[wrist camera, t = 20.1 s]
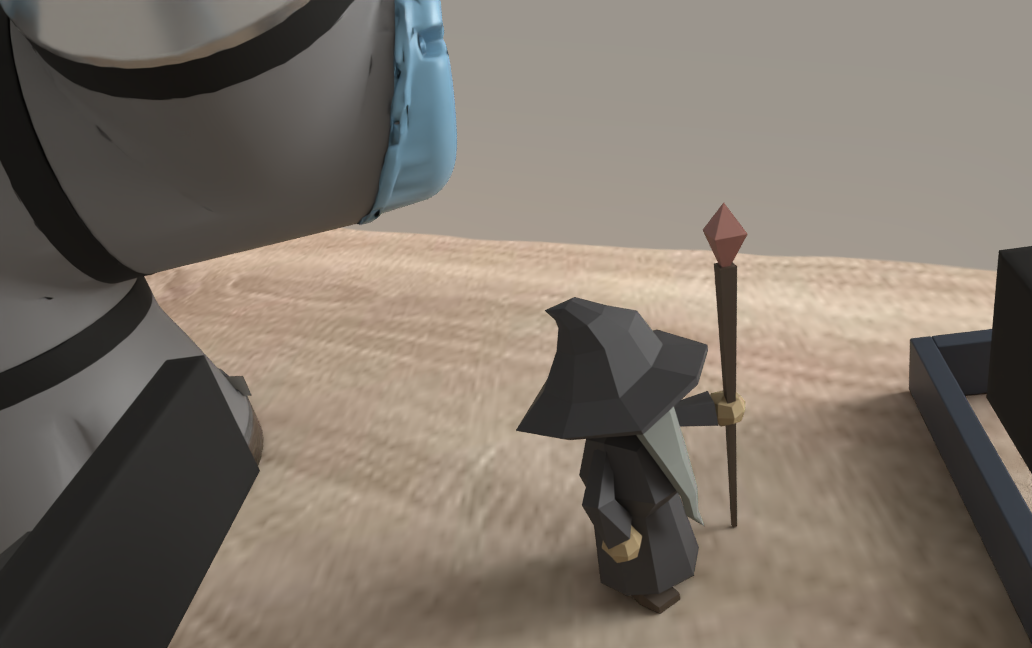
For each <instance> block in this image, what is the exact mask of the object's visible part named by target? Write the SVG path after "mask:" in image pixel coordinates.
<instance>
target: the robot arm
mask: <svg viewBox="0 0 1032 648" xmlns="http://www.w3.org/2000/svg"><path fill="white" fill-rule="evenodd" d="M443 35H444V27H443V23H442V12H441V1H440V0H0V648H167V647H168V645H169V643H170V641H171V640H172V638H173V636H174V634H175V632H176V630H177V628H178V626H179V624H180V622H181V620H182V619H183V617H184V615H185V613H186V611H187V609H188V607H189V605H190V603H191V601H192V599H193V598H194V596H195V594H196V592H197V590H198V588H199V586H200V584H201V582H202V580H203V578H204V577H205V575H206V573H207V571H208V569H209V567H210V565H211V563H212V561H213V559H214V557H215V556H216V554H217V552H218V550H219V548H220V546H221V544H222V542H223V540H224V538H225V536H226V535H227V533H228V531H229V529H230V527H231V525H232V523H233V521H234V519H235V517H236V515H237V514H238V512H239V510H240V508H241V506H242V504H243V502H244V500H245V498H246V496H247V494H248V492H249V491H250V489H251V487H252V485H253V483H254V481H255V479H256V477H257V475H258V473H259V471H260V470H259V467H258V465H259V462H260V459H261V455H262V450H263V433H262V429H261V426H260V423H259V421H258V418H257V416H256V414H255V412H254V410H253V408H252V405H251V403H250V401H249V399H248V397H247V396H252V395H251V393H250V391H249V388H248V386H247V384H246V382H245V380H244V377H243V376H228V375H227V374H226V373H225V372H224V371H222V370H221V369H219V368H217V367H216V366H215V365H214V364H213V362H212V361H211V360H210V359H209V358H208V357H207V356H206V355H205V354H204V353H203V351H202V350H201V349H200V348H199V347H198V346H197V345H196V344H195V343H194V342H193V341H192V340H191V339H190V338H189V336H188V335H187V334H186V333H185V332H184V331H183V330H182V329H181V328H180V327H179V326H178V325H177V324H176V323H175V322H174V321H173V320H172V319H171V318H170V317H169V316H168V315H167V314H166V313H165V312H164V311H163V310H162V309H161V307H160V306H159V305H158V303H157V301H156V299H155V297H154V295H153V293H152V291H151V289H150V287H149V285H148V283H147V281H146V279H145V277H144V276H146V275H152V274H154V273H157V272H160V271H165V270H169V269H173V268H177V267H181V266H185V265H189V264H193V263H197V262H202V261H206V260H210V259H214V258H218V257H222V256H226V255H230V254H234V253H238V252H243V251H247V250H251V249H255V248H259V247H263V246H267V245H271V244H275V243H280V242H284V241H288V240H292V239H296V238H300V237H304V236H308V235H312V234H316V233H321V232H325V231H329V230H333V229H337V228H341V227H345V226H349V225H353V224H359V225H362V224H366V223H370V222H372V221H374V220H375V219H377V218H378V217H379V216H380V215H381V214H382V213H385V212H389V211H392V210H395V209H398V208H401V207H405V206H408V205H411V204H414V203H417V202H420V201H423V200H426V199H429V198H431V197H432V196H434V195H435V194H437V193H438V192H439V191H440V190H441V189H442V188H443V187H444V186H445V184H446V183H447V182H448V180H449V178H450V176H451V174H452V172H453V169H454V165H455V160H456V150H457V129H456V112H455V101H454V91H453V81H452V74H451V67H450V61H449V55H448V51H447V47H446V44H445V42H444V40H443ZM987 399H988V401H989V403H990V404H991V406H992V408H993V409H994V411H995V413H996V414H997V416H998V418H999V419H1000V421H1001V423H1002V424H1003V426H1004V428H1005V430H1006V431H1007V433H1008V435H1009V436H1010V438H1011V440H1012V441H1013V443H1014V445H1015V446H1016V448H1017V450H1018V451H1019V453H1020V455H1021V456H1022V458H1023V460H1024V461H1025V463H1026V465H1027V466H1028V468H1029V470H1030V471H1031V473H1032V246H1029V247H1021V248H1014V249H1007V250H999V256H998V268H997V279H996V291H995V303H994V315H993V327H992V338H991V350H990V362H989V374H988V386H987Z"/></svg>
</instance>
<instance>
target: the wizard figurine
mask: <svg viewBox="0 0 1032 648" xmlns="http://www.w3.org/2000/svg"><path fill="white" fill-rule="evenodd" d="M703 232H704V234H705V236H706V238H707V240H708V242H709V244H710V246H711V248H712V251H713V253H714V255H715V257H716V259H717V261H718V263H715V264H714V272H715V285H716V299H717V312H718V325H719V339H720V352H721V365H722V379H723V391H719V392H715V393H711V394H709V392H708V391H706V392H703V393H700V394H697V395H694V396H692V397H689V398H686V399H683V398H684V397H685V396H686V395H687V394H688V393H689V392H690V391H691V390H692V389H693V388H695V387H696V386H697V385H698V382H699V379H700V376H701V372H702V369H703V365H704V362H705V359H706V355H707V352H708V346H707V345H706V344H703V343H700V342H697V341H693V340H690V339H687V338H683V337H680V336H677V335H673V334H670V333H667V332H663V331H660V330H654V331H652V330H651V328H650V327H649V326H648V324H647V323H646V322H645V321H644V319H643V318H642V317H641V315H640V314H639V313H638V311H636V310H630V309H624V308H619V307H613V306H607V305H603V304H599V303H595V302H591V301H587V300H584V299H580V298H576V297H574V298H572V299H569V300H567V301H565V302H563V303H560V304H558V305H556V306H554V307H551V308H549V309H547V310H545V311H546V312H547V313H548V314H549V315H550V316H551V317H552V318H554V319H555V321H556V323H557V326H558V328H559V329H558V341H557V352H556V355H555V358H554V361H553V364H552V367H551V370H550V373H549V376H548V379H547V380H546V382H545V384H544V385H543V387H542V389H541V390H540V392H539V394H538V395H537V397H536V399H535V400H534V402H533V403H532V405H531V407H530V408H529V410H528V412H527V413H526V415H525V416H524V418H523V420H522V421H521V423H520V425H519V426H518V428H517V429H516V431H521V432H527V433H532V434H538V435H543V436H549V437H555V438H560V439H566V440H576V439H586V443H585V448H584V453H583V458H582V464H581V469H580V474H579V475H580V477H581V479H582V481H583V483H584V484H585V486H586V489H585V493H584V498H583V503H582V506H583V508H584V510H585V511H586V513H587V515H588V516H589V518H590V520H591V521H592V523H593V525H594V530H595V538H596V546H597V555H598V563H599V572H600V580H601V583H602V584H604V585H607V586H609V587H611V588H613V589H615V590H617V591H619V592H621V593H623V594H625V595H631V596H632V597H633V598H634V599H635V600H636V601H637V602H638V603H639V604H640V605H642V606H644V607H647V608H649V609H651V610H653V611H655V612H658V613H660V614H661V613H662V612H663V611H665V610H666V609H667V608H669V607H670V606H672V605H673V604H674V603H676V602H677V601H679V600H680V593H679V592H678V591H677V590H675V589H674V588H673V586H675V585H677V584H678V583H680V582H682V581H684V580H686V579H688V578H690V577H692V576H694V571H695V565H696V560H697V555H698V549H699V546H698V544H697V541H696V538H695V536H694V533H693V530H692V528H691V525H690V522H689V520H688V517H689V518H691V519H693V520H695V521H696V522H698V523H700V524H701V525H703V526H704V524H703V521H702V518H701V515H700V513H699V510H698V492H697V484H696V481H695V477H694V474H693V470H692V466H691V463H690V459H689V456H688V452H687V449H686V445H685V442H684V438H683V435H682V432H681V429H680V426H718V424H719V425H720V426H726V441H727V458H728V476H729V493H730V511H731V525H732V527H737V483H736V423H737V422H740V421H741V420H742V417H743V414H744V411H745V401H744V399H743V398H742V397H741V396H740V395H739V394H738V393H737V392H736V326H737V266H736V265H735V264H734V263H733V260H734V258H735V256H736V254H737V253H738V251H739V249H740V247H741V245H742V243H743V241H744V239H745V238H746V236H747V233H746V231H745V230H744V229H743V227H742V226H741V225H740V223H739V222H738V221H737V219H736V218H735V217H734V216H733V214H732V213H731V211H730V210H729V209H728V208H727V206H726V205H725V204H724V203H723V204H722V205H721V207H720V208H719V209H718V211H717V212H716V213H715V215H714V216H713V217H712V218H711V220H710V221H709V222H708V224H707V225H706V226H705V228H704V229H703ZM681 399H683V400H681ZM679 495H680V496H681V498H680V496H679ZM681 499H682V501H681ZM682 502H683V504H682ZM687 516H688V517H687Z"/></svg>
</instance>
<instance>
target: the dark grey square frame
mask: <svg viewBox="0 0 1032 648" xmlns="http://www.w3.org/2000/svg"><path fill="white" fill-rule="evenodd" d="M991 338H992V329H988V330H980V331H971V332H963V333H954V334H945V335H937V336H932V337H930V336H929V337H920V338H911V339H910V364H909V390H910V392H911V394H912V396H913V398H914V400H915V402H916V404H917V406H918V408H919V411H920V413H921V415H922V417H923V419H924V421H925V423H926V425H927V427H928V429H929V431H930V433H931V435H932V437H933V440H934V442H935V444H936V446H937V448H938V450H939V452H940V454H941V456H942V458H943V460H944V462H945V464H946V467H947V469H948V471H949V473H950V475H951V477H952V479H953V481H954V483H955V485H956V487H957V489H958V491H959V493H960V496H961V498H962V500H963V502H964V504H965V506H966V508H967V510H968V512H969V514H970V516H971V518H972V520H973V522H974V525H975V527H976V529H977V531H978V533H979V535H980V537H981V539H982V541H983V543H984V545H985V547H986V549H987V551H988V554H989V556H990V558H991V560H992V562H993V564H994V566H995V568H996V570H997V572H998V574H999V576H1000V578H1001V580H1002V583H1003V585H1004V587H1005V589H1006V591H1007V593H1008V595H1009V597H1010V599H1011V601H1012V603H1013V605H1014V607H1015V609H1016V612H1017V614H1018V616H1019V618H1020V620H1021V622H1022V624H1023V626H1024V628H1025V630H1026V632H1027V634H1028V636H1029V638H1030V641H1031V643H1032V513H1031V511H1030V509H1029V508H1028V506H1027V504H1026V502H1025V501H1024V499H1023V497H1022V495H1021V494H1020V492H1019V490H1018V488H1017V487H1016V485H1015V483H1014V481H1013V480H1012V478H1011V476H1010V474H1009V473H1008V471H1007V469H1006V467H1005V466H1004V464H1003V462H1002V460H1001V459H1000V457H999V455H998V453H997V451H996V450H995V448H994V446H993V444H992V443H991V441H990V439H989V437H988V436H987V434H986V432H985V430H984V429H983V427H982V425H981V423H980V422H979V420H978V418H977V416H976V415H975V413H974V411H973V409H972V408H971V406H970V404H969V402H968V401H967V399H966V397H965V395H970V394H980V393H987V386H988V374H989V362H990V350H991Z"/></svg>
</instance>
